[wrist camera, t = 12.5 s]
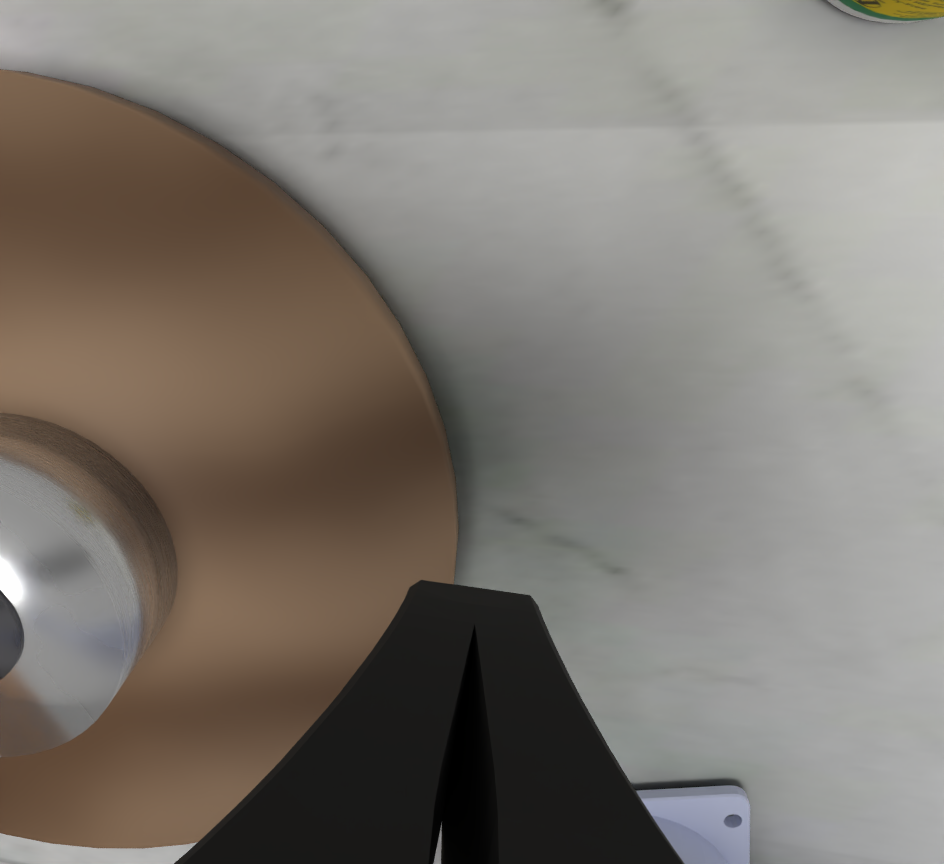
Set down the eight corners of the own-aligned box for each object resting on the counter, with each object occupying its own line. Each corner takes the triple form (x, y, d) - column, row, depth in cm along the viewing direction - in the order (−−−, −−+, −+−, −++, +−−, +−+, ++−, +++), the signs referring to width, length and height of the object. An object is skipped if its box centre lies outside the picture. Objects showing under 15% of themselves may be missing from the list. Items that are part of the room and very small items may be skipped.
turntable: (571, 710, 21) (584, 847, 17) (-37, 876, 24) (-142, 1020, 20) (214, -116, 14) (100, -207, 10) (-552, 279, 18) (-855, 325, 14)
